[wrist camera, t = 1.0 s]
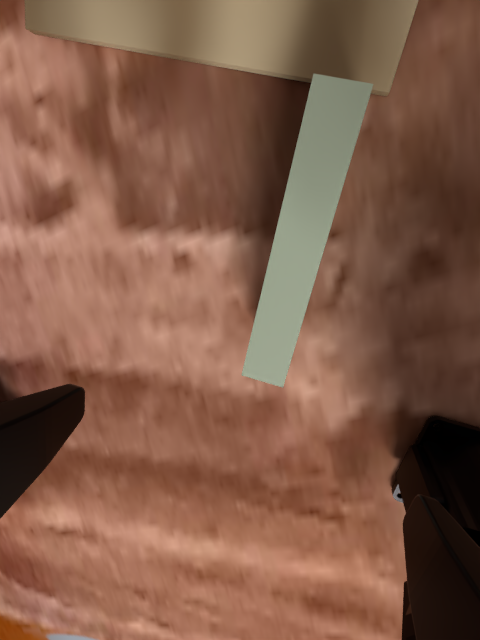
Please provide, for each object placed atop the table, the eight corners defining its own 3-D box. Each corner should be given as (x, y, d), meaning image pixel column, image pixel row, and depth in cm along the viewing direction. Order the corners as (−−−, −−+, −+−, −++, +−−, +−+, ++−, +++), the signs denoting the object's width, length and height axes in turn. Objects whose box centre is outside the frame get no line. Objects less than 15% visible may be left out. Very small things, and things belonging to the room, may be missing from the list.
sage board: (357, 117, 16) (373, 83, 11) (290, 344, 20) (283, 387, 16) (314, 109, 16) (313, 73, 11) (258, 335, 20) (241, 375, 16)
